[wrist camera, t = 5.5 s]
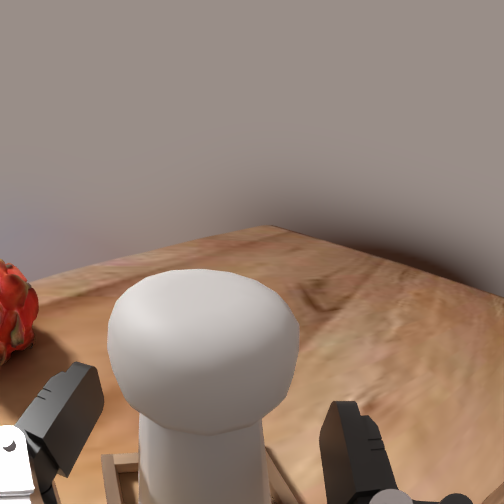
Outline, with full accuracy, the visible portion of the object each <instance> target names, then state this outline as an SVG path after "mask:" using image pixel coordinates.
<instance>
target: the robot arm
mask: <svg viewBox="0 0 504 504" xmlns="http://www.w3.org/2000/svg"><path fill="white" fill-rule="evenodd" d="M103 407H104V395H103V392H102V388H101V384H100V380H99V376H98V372H97V369H96V367H94V366H90V365H87V364H83V363H80V362H74V363H73V364H72V365H71V366H70V368H69V369H68V370H67V372H66V373H65V372H62V371H61V372H60V373H58V374H56V375H55V376H53V377H52V378H50V379H49V381H48V382H47V383H46V384H45V386H44V387H43V390H41V391H40V392H39V393H38V395H37V398H36V397H35V399H34V400H33V401H32V403H31V404H30V405H29V407H28V408H27V409H26V411H25V412H24V413H23V415H22V416H21V417H20V419H19V420H18V421H17V423H16V424H15V425H14V426H13V427H12V426H3V427H0V504H61V502H60V498H59V495H58V492H57V488H56V485H55V482H54V478H55V476H56V474H59V475H62V476H64V477H66V478H68V476H69V474H70V472H71V470H72V468H73V466H74V464H75V462H76V460H77V458H78V456H79V454H80V452H81V450H82V448H83V447H84V445H85V443H86V441H87V439H88V437H89V435H90V433H91V431H92V429H93V428H94V426H95V424H96V422H97V420H98V418H99V416H100V415H101V413H102V410H103ZM381 439H382V437H381V434H380V431H379V428H378V426H377V425H376V424H375V422H374V421H373V420H372V419H371V418H370V417H369V415H367V416H361V415H360V412H359V409H358V405H357V403H356V402H355V401H333V402H332V403H331V405H330V408H329V410H328V413H327V415H326V418H325V420H324V423H323V425H322V428H321V431H320V437H319V445H320V452H321V459H322V466H323V474H324V481H325V489H326V497H327V504H473V503H472V501H471V500H470V499H469V498H468V497H467V496H465V495H463V494H458V493H454V494H450V495H448V496H446V497H445V498H444V499H442V500H441V501H440V502H427V501H415V500H412V499H411V498H410V497H409V496H408V495H407V494H406V493H404V492H402V491H400V490H399V489H398V487H397V485H396V482H395V478H394V475H393V472H392V469H391V465H390V462H389V459H388V456H387V453H386V450H385V447H384V444H383V441H382V440H381Z"/></svg>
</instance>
